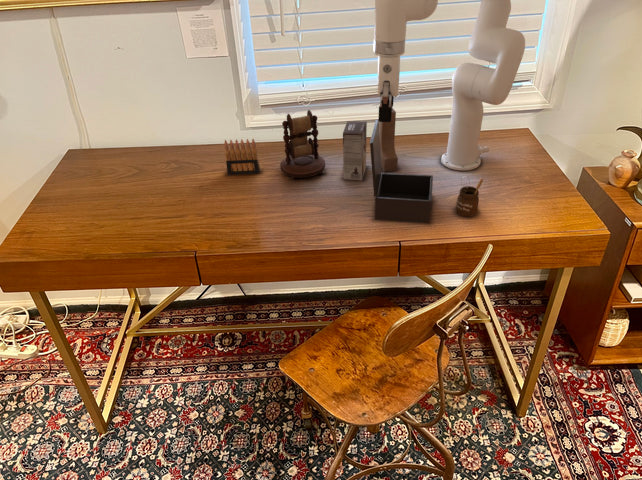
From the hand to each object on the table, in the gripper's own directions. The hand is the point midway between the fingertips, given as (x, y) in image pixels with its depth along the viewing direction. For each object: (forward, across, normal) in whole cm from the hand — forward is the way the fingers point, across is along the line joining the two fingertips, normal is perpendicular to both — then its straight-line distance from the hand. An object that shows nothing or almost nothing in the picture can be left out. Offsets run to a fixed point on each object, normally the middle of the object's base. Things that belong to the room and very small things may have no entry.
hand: (385, 113), depth 143 cm
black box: (+29, 0, -6) cm, 29 cm away
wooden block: (+29, +26, 0) cm, 39 cm away
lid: (+13, 0, +2) cm, 13 cm away
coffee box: (+29, +20, +10) cm, 36 cm away
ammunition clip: (+29, +17, +46) cm, 57 cm away
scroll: (+29, +20, +27) cm, 44 cm away
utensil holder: (+29, 0, -24) cm, 38 cm away
